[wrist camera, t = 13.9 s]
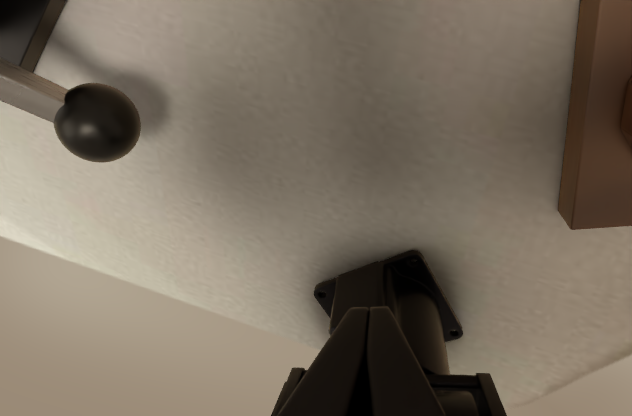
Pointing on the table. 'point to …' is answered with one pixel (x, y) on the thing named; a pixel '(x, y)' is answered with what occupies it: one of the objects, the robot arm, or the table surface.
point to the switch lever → (76, 112)
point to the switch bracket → (26, 29)
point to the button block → (600, 120)
